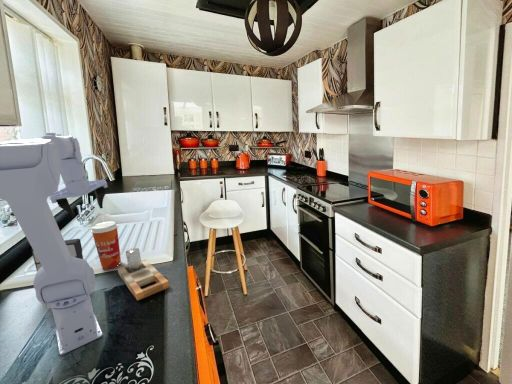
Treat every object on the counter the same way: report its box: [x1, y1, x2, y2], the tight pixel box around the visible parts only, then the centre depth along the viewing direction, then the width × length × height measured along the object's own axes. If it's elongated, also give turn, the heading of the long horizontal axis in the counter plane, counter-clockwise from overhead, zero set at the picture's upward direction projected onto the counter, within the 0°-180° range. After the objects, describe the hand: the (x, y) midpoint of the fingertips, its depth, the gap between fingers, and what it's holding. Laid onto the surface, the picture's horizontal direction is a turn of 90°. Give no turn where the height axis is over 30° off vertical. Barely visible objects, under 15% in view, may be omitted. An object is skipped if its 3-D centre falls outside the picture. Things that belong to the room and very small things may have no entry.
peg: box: [125, 247, 143, 274], centre depth 87 cm, size 4×4×8 cm
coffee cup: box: [90, 220, 122, 270], centre depth 93 cm, size 8×8×15 cm
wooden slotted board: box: [116, 259, 170, 302], centre depth 83 cm, size 20×9×2 cm, turn 40°
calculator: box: [31, 238, 84, 272], centre depth 78 cm, size 11×4×15 cm, turn 105°
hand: (87, 211), depth 84 cm, fingers open, 7 cm apart
